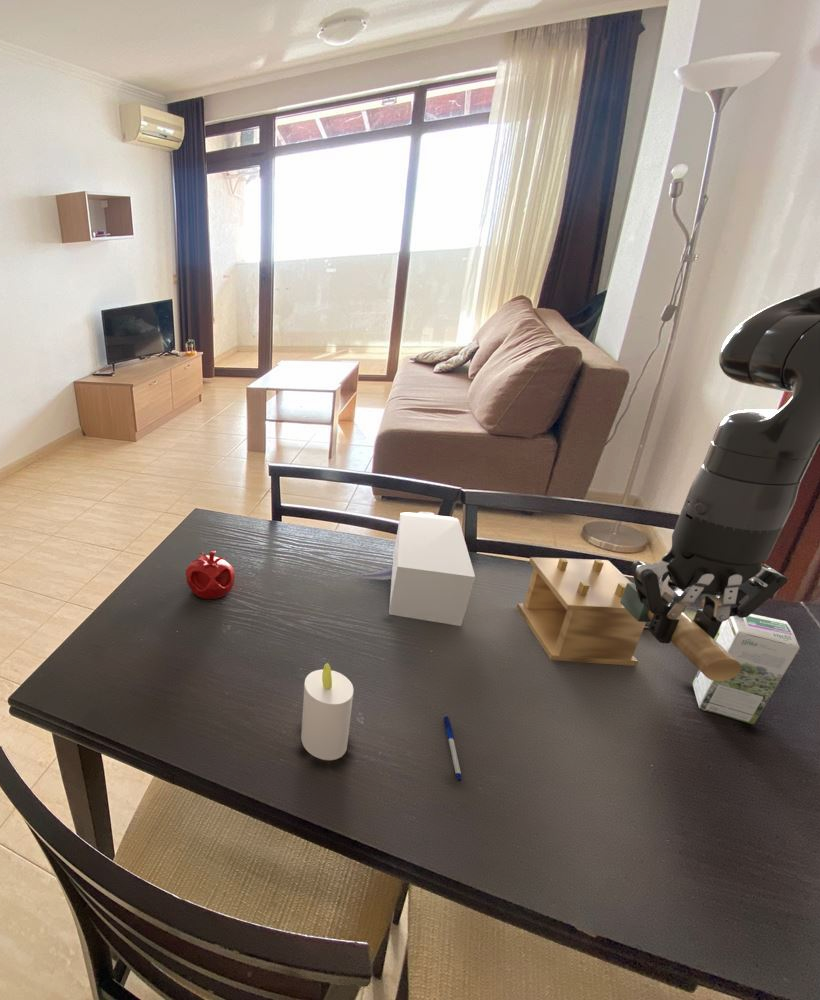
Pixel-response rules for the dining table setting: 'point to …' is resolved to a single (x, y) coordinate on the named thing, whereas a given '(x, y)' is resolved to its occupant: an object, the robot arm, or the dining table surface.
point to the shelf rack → (580, 611)
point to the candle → (326, 713)
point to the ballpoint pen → (452, 747)
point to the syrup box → (748, 666)
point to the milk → (430, 569)
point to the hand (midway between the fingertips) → (677, 639)
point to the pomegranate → (210, 576)
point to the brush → (689, 640)
